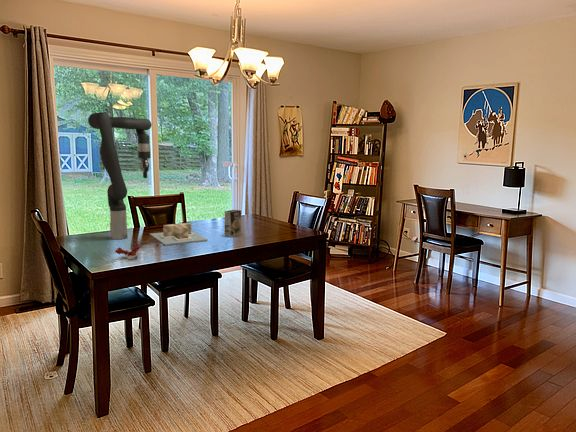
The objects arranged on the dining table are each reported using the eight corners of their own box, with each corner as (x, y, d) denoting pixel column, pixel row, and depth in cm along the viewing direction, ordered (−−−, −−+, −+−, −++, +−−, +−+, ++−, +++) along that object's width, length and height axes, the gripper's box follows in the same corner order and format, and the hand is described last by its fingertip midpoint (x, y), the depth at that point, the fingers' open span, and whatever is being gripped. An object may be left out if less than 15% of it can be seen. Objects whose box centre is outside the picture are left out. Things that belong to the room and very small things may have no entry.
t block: (171, 241, 266) (171, 229, 265) (163, 236, 278) (163, 225, 277) (197, 238, 274) (196, 226, 273) (188, 233, 287) (188, 222, 286)
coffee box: (231, 237, 283) (231, 212, 280) (224, 235, 287) (224, 210, 284) (241, 235, 290) (241, 210, 287) (234, 233, 294) (234, 209, 291)
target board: (164, 245, 258) (164, 242, 258) (149, 235, 285) (149, 232, 285) (207, 241, 272) (207, 237, 272) (189, 231, 299) (189, 228, 298)
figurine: (123, 263, 223) (122, 250, 222) (110, 259, 230) (110, 246, 229) (149, 257, 234) (149, 244, 233) (136, 253, 241) (136, 241, 240)
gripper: (135, 150, 291) (136, 177, 294) (140, 151, 280) (141, 179, 283) (147, 150, 295) (148, 176, 298) (152, 151, 284) (153, 178, 287)
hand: (145, 177), depth 291 cm, fingers closed
